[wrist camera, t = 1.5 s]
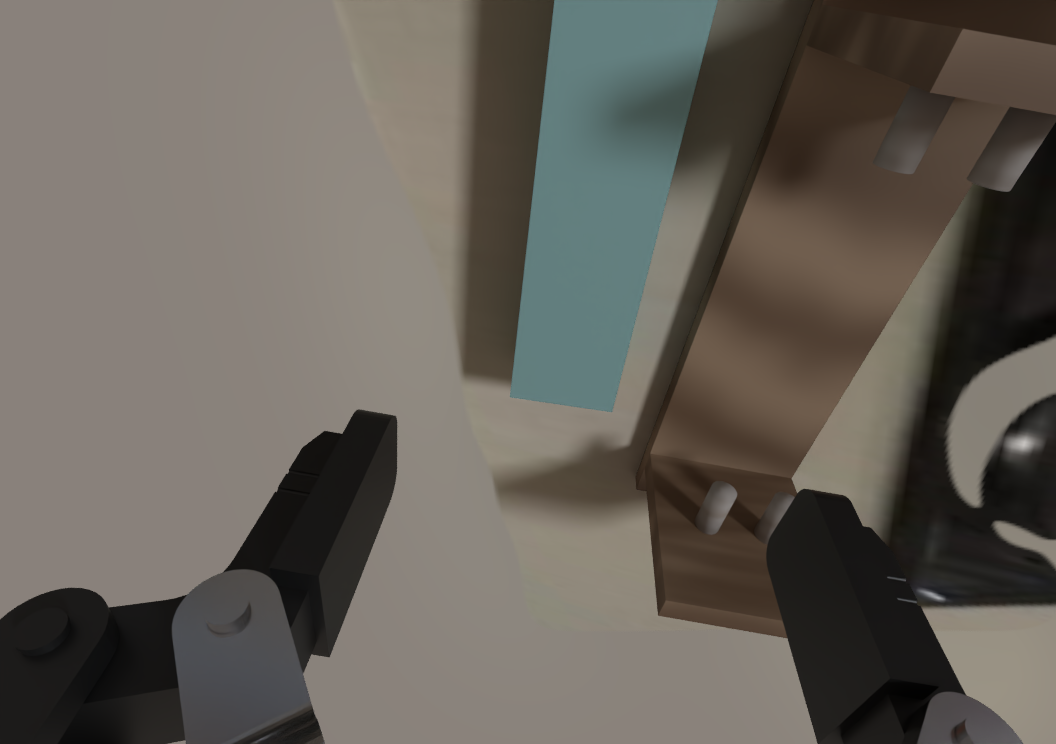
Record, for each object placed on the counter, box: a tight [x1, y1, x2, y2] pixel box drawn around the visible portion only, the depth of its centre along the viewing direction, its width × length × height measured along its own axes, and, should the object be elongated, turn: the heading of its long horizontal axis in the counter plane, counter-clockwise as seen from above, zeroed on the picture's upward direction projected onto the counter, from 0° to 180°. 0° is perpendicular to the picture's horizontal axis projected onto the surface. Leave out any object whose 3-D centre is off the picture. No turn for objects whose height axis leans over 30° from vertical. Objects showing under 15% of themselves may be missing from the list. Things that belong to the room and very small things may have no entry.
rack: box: [636, 0, 1056, 638], centre depth 22 cm, size 26×8×10 cm, turn 172°
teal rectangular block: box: [510, 0, 718, 412], centre depth 23 cm, size 18×5×4 cm, turn 174°
